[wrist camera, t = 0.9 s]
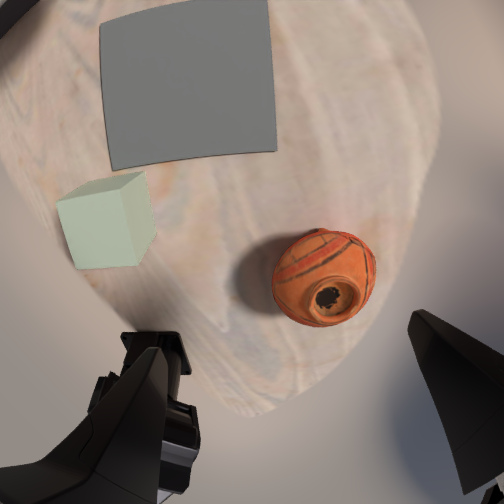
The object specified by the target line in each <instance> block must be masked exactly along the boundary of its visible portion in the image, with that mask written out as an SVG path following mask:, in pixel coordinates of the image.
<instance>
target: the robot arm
mask: <svg viewBox="0 0 504 504" xmlns="http://www.w3.org/2000/svg"><path fill="white" fill-rule="evenodd" d="M408 335H409V338H410V340H411V343H412V346H413V349H414V352H415V355H416V358H417V362H418V364H419V367H420V369H421V372H422V374H423V377H424V379H425V381H426V383H427V386H428V388H429V390H430V393H431V396H432V398H433V401H434V403H435V406H436V408H437V411H438V414H439V416H440V419H441V422H442V424H443V427H444V430H445V433H446V436H447V439H448V442H449V445H450V448H451V451H452V455H453V458H454V462H455V465H456V468H457V472H458V475H459V479H460V483H461V487H462V491H463V494H464V495H466V494H468V493H470V492H472V491H474V490H475V489H477V488H479V487H481V486H482V485H484V484H486V483H488V482H489V481H491V480H492V479H494V478H496V480H497V482H496V483H495V484H494V485H492V486H491V487H490V488H488V489H487V490H486V492H485V495H484V497H483V500H482V502H481V504H504V355H502V354H500V353H499V352H497V351H495V350H493V349H492V348H490V347H489V346H487V345H485V344H483V343H482V342H480V341H478V340H477V339H475V338H473V337H471V336H470V335H468V334H466V333H464V332H463V331H461V330H459V329H458V328H456V327H454V326H452V325H451V324H449V323H447V322H445V321H444V320H441V319H440V318H438V317H436V316H435V315H433V314H431V313H429V312H427V311H426V310H423V309H420V310H416V311H413V313H412V315H411V318H410V321H409V325H408ZM120 337H121V340H122V342H123V344H124V346H125V348H126V350H127V353H126V357H125V359H124V362H123V363H124V365H123V368H122V371H121V374H120V377H119V376H117V375H116V374H115V373H113V372H111V371H110V373H109V375H108V377H106V376H105V377H99V378H98V381H97V384H96V386H95V389H94V392H93V395H92V398H91V401H90V404H89V408H88V411H87V412H88V415H87V416H86V417H85V419H84V420H83V421H82V422H81V423H80V424H79V425H78V426H77V427H76V428H75V429H74V430H73V431H72V432H71V433H70V434H69V435H68V436H67V437H66V438H65V439H64V440H63V441H62V442H61V443H60V444H59V445H57V446H56V447H55V448H54V449H53V450H52V451H51V452H50V453H49V454H48V455H46V456H45V457H44V458H42V459H41V460H39V461H37V462H34V463H30V464H24V465H18V466H10V467H2V468H0V504H161V503H162V502H164V501H165V500H166V499H167V498H168V497H170V496H171V495H172V494H173V493H175V494H180V495H181V494H183V493H184V491H185V490H186V489H187V488H188V486H189V481H190V473H191V468H192V464H193V462H194V461H195V459H196V457H197V455H198V453H199V449H200V442H201V438H200V431H199V424H198V417H197V410H196V407H195V406H192V405H187V404H184V403H181V402H179V401H177V395H178V388H179V382H180V375H190V374H191V372H192V369H191V366H190V363H189V360H188V358H187V355H186V352H185V349H184V346H183V342H182V339H181V336H180V334H179V333H177V332H122V334H121V336H120Z"/></svg>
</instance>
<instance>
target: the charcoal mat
mask: <svg viewBox="0 0 504 504" xmlns="http://www.w3.org/2000/svg"><path fill="white" fill-rule="evenodd" d="M100 52H101V77H102V91H103V103H104V113H105V121H106V130H107V137H108V144H109V151H110V157H111V163H112V169H113V170H118V169H123V168H128V167H134V166H140V165H145V164H151V163H158V162H164V161H171V160H179V159H186V158H194V157H203V156H212V155H222V154H234V153H247V152H262V151H277V130H276V111H275V94H274V79H273V64H272V51H271V38H270V26H269V15H268V4H267V0H190V1H184V2H179V3H173V4H169V5H164V6H159V7H155V8H151V9H147V10H143V11H139V12H136V13H132V14H129V15H125V16H122V17H119V18H116V19H113V20H110V21H107V22H104V23H102V24H101V25H100Z"/></svg>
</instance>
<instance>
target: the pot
mask: <svg viewBox="0 0 504 504" xmlns="http://www.w3.org/2000/svg"><path fill="white" fill-rule="evenodd" d="M375 279H376V262H375V257H374V255H373V253H372V252H371V250H370V249H369V248H368V247H367V245H366V244H365V243H364V242H363V241H361V240H360V239H359V238H357V237H356V236H354V235H352V234H349V233H346V232H339V231H329V230H327V229H324V228H320V229H319V230H318V232H316V233H313V234H310V235H307V236H305V237H303V238H301V239H300V240H298V241H297V242H295V243H294V244H293V245H291V246H290V247H289V248H288V249H287V250H286V252H285V253H284V254H283V255H282V256H281V258H280V260H279V262H278V264H277V266H276V268H275V270H274V273H273V277H272V292H273V296H274V299H275V301H276V303H277V304H278V306H279V307H280V308H281V310H282V311H283V312H284V313H285V314H286V315H287V316H288V317H289V318H290V319H292V320H294V321H296V322H298V323H300V324H303V325H307V326H312V327H328V326H333V325H337V324H339V323H342V322H345V321H347V320H348V319H350V318H352V317H353V316H354V315H355V314H357V313H358V312H359V311H360V310H361V309H362V308H363V306H364V305H365V304H366V302H367V301H368V299H369V297H370V295H371V293H372V290H373V287H374V284H375Z"/></svg>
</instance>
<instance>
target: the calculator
mask: <svg viewBox="0 0 504 504" xmlns="http://www.w3.org/2000/svg"><path fill="white" fill-rule="evenodd" d="M38 1H40V0H0V39H1V38H2V37H3V36H4V35H5V34H6V33H7V32H8V31H9V29H10V28H11V27H12V26H13V25H14V24H15V23H16V22H17V21H18V20H19V19H20V18H21V17H22V16H23V15H24V14H25V13H26V12H27V11H29V10H30V9H31V8H32V7H33V6H34V5H35V4H36V3H37V2H38Z"/></svg>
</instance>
